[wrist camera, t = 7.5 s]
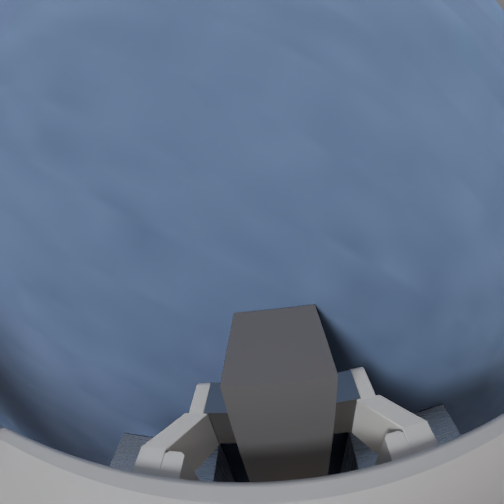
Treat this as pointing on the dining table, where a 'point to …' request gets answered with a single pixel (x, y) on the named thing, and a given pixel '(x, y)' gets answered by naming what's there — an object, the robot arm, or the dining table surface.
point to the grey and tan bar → (280, 393)
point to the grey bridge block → (353, 459)
